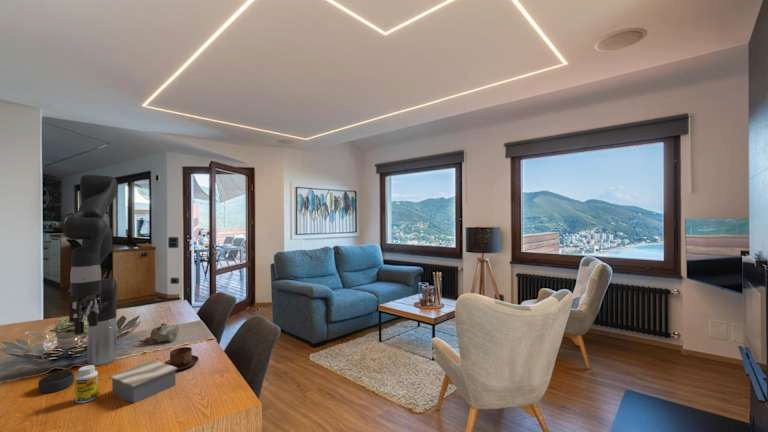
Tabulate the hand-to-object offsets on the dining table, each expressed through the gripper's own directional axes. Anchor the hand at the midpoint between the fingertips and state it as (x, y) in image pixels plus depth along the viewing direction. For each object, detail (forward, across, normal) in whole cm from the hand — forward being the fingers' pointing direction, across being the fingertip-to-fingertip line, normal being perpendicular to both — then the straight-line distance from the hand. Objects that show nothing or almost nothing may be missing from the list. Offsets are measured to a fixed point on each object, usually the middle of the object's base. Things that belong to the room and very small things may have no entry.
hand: (86, 329), depth 111 cm
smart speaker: (+23, +13, +14) cm, 30 cm away
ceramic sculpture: (+22, +51, -7) cm, 56 cm away
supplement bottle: (+23, 0, 0) cm, 23 cm away
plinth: (+22, +2, -15) cm, 27 cm away
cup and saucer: (+23, +18, -22) cm, 37 cm away
